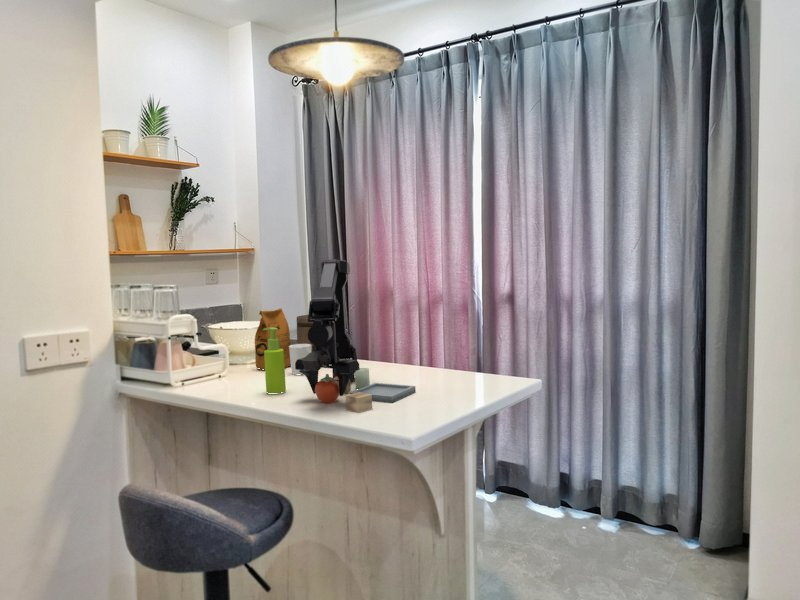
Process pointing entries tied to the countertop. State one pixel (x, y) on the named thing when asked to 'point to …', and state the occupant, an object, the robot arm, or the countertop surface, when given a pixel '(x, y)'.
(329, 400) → the tomato
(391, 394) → the dish
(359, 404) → the beech block
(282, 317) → the coffee package
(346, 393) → the walnut block
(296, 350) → the white cup
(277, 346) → the soap dispenser
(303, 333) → the wooden container
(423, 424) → the countertop surface
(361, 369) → the sage green capsule
